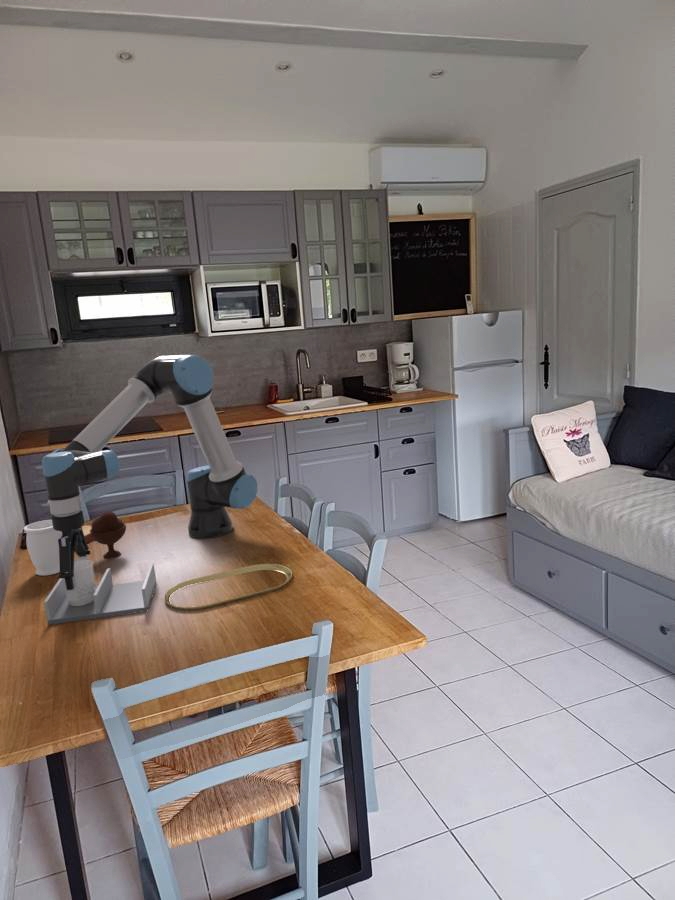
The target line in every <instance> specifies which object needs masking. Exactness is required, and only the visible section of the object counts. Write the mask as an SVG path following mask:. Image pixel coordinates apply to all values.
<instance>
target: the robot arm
mask: <svg viewBox="0 0 675 900" xmlns="http://www.w3.org/2000/svg"><path fill="white" fill-rule="evenodd" d="M214 377H215V376H214V371H213V368H212V366H211V365H210V364H209V362H208V361H207V360H206V359H205V358H204V357H202V356H199V355H195V354H194V355H193V354H189V353H188V354H187V353H185V354H179V355H178V354H175V355H160V356H158V357H155V358H153V359H152V360H150V361H149V362H147V363H146V364H144V365H143V366H141V368H140V369H139V370H138V371H136V372H135V373H134V374H133V375H132V376H131V377H130V378H129V379H128V381H127V386H126V387H125V388H124V389H123V390H121V392H120V393H118V395H117V396H116V397H115V398H114V399H113V400H112V401H111V402H109V404H108V405H107V406H105V408H104V409H103V410H102V411H101V412H100V413H99V414H98V415H97V416H95V418H94V419H92V421H90V423H88V425H86V427H85V428H84V429H82V431H81V432H80V433H79V434H77V436H76V437H75V438H73V439H72V440H71V442H69V443H68V444H67V445H66V446H65V447H64V448H63V447H62V448H58V449H55V450H53V451H52V452H51V453H48V454H47V455H45V456H43V458H42V460H41V461H42V465H41V466H42V475H43V478H44V484H45V487H46V494H47V498H48V499H47V500H48V501H47V502H46V505H47V506H49V510H50V511H49V512H50V514H51V517H50V518H51V520H52V524H53V529H54V530H56V531H61V532H62V536H61V538H60V539H58V543H59V562H60V572H59V575H58V578H59V579H61V578H63V579H64V584H65V590H66V596H67V601H75V600H79V594H78V588H77V582H76V576H75V575H74V561H75V554H76V555H77V556H76V561H80V560H89V557H88V556H89V555H91V550H89V546H88V543H87V542H86V539H85V536H84V533H83V530H82V526H85V525H84V524H85V517H84V513H83V510H82V509H83V504H82V500H81V493H80V487H81V486H85V485H88V484H92V483H96V482H99V481H102V480H103V481H104V480H108V479H110V478H112V477H116V476H117V475H118V473H120V472H119V471H120V468H121V466H120V465H121V464H120V459H119V457H118V455H117V453H116V452H115V451H113V450H111V449H104V448H105V446H107V445H108V444H109V443H110V442H111V441H112V440H113V439H114V438H115V437H116V436H117V435H118V433H120V431H122V429H123V428H124V427H125V426H126V425H127V424H128V423H129V422H130V421H131V420H132V419H133V418H134V417H135V416H136V415H137V414H138V413H139V412H140V411H141V410H142V409H143V408H144V407H145V406H146V404H152V403H153V402H154V401H155V400H156V399H158V398H159V397H162V395H163V396H164V395H166V394H168V395H169V394H170V395H172V399H173V401H174V402H175V405H177V407H180V408H182V409H184V412H185V415H186V417H187V419H188V422H189V424H190V426H191V428H192V430H193V433H194V435H195V438H196V440H197V442H198V444H199V448H200V449H201V452H202V453H203V456H204V458H205V460H206V463H207V465H203V466H198V467H195V468H192V469H190V470H189V471H187V474H186V483H187V491H188V497H189V505H190V517H189V522H188V526H187V529H188V530H187V531H188V536H190V537H192V538H195V539H211V538H217V537H221V536H223V535H226V534H229V533H230V532H232V530H233V521H232V519H231V517H230V515H229V513H228V511H227V508H231V509H235V510H237V509H240V510H243V509H247V508H248V507H250V506H251V505H252V503H253V502H254V501H255V499H256V496H257V493H258V490H259V489H258V486H259V485H258V481H257V478H256V477H255V476H254V475H252V474H250V473H246V470H245V467H244V464H243V463H242V462H240V461H239V460H236V458H235V456H234V452H233V450H232V448H231V445H230V443H229V440H228V439H227V436H226V434H225V431H224V429H223V426H222V424H221V421H220V419H219V417H218V414H217V412H216V410H215V407H214V405H213V402H212V400H211V395H212V393H213V389H212V388H213V385H214V381H213V380H214ZM103 449H104V450H103ZM66 572H68V573H66Z"/></svg>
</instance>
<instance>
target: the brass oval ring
mask: <svg viewBox="0 0 675 900" xmlns="http://www.w3.org/2000/svg"><path fill="white" fill-rule="evenodd" d="M255 571H275V572H280V573H282V574H284V575H285V576H286V580H285V582H283V583H281V584H279V585H277V586H274V587H271V588H268V589H264V590H260V591H256V592H252V593H248V594H244V595H239V596H236V597H232V598H229V599H228V598H227V599H224V600H219V601H216V602H213V603H208V604H204V605H200V606H199V605H198V606H178V605H174V604H173V603H172V604H173V605H172V604H170V602H169V597H170V595H171V594H172V593H173V592H175V591H176V590H178V589H179V588H182V587H184V586H187V585H190V584H195V583H199V582H205V581H209V582H211V581H210V580H214V581H216V580H215V579H218V580H222V579H226V578H230V577H234V576H238V574H239V575H242V573H243V574H247V573H251V572H255ZM292 577H293V572H292V570H291V569H290V568H289V567H287V566H285V565H282V564H276V563H259V564H253V565H248V566H244V567H239V568H234V569H230V570H227V571H222V572H218V573H217V572H216V573H214V574H209V575H204V576H201V577H197V578H196V577H195V578H192V579H188V580H185V581H182V582H180V583H178V584H176V585H173V586H172V587H171V588H169V589H168V590H167V591H166V593H165V595H164V601H165V603H166V604H167V605H168V606H170V607H172V608H174V609H177V610H182V609H185V610H184V611H189V610H188V609H197V610H202V609H201V608H204V609H207V608H206V607H208V608H211V606H212V607H216V606H219V604H220V605H223V603H224V604H227V602H228V603H232V602H235V601H239V599H240V600H243V598H244V599H247V597H248V598H251V596H252V597H256V596H259V595H264V594H267V593H270V592H273V591H276V590H279V589H281V588H283V587H284V586H286V585H287V584H288V583H289V582H290V581H291V579H292ZM221 578H222V579H221ZM205 583H206V582H205ZM215 605H216V606H215ZM186 609H187V610H186Z"/></svg>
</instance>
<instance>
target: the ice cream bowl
mask: <svg viewBox="0 0 675 900" xmlns="http://www.w3.org/2000/svg"><path fill="white" fill-rule="evenodd" d="M126 530H127V525H126V524H125V522H123V520H122V519H120V518H118V516H117V514H116V513H115V512H113V511H104V512H102V514H100V515H99V516H97V517H96V518H95V519H94V520H93V521H92V522H91V530H90V533H91V535H92V537H93V538H94V540H95V541H96V542H97V543H99V544H101V545H106V546H107V549H108V551H107V552H105V553H104V554H103V556H102V557H103V559H106V560H111V559H115V558H118V557H120V556H121V555H122V553H121V552H120V551H119V550H115V547H114V546H115V543H117V542H118V541H120V540H121V539H122V537H124V535H125V534H126Z"/></svg>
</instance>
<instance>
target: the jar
mask: <svg viewBox="0 0 675 900" xmlns="http://www.w3.org/2000/svg"><path fill="white" fill-rule="evenodd" d="M23 531H24V533H25V534H26V539H25V541H26V548H27V552H28V554H29V557H30V560H31V562H32V564H33V566H34V567H35V575H38V576H44V577H45V576H51V575H55V574H58V573H60V562H59V543H58V539H60V538H61V536H62V532H61V531H56V530H54V529H53V524H52V519H44V520H41V521H40V520H38V521H35V522H31V523H29V524H27V525H25V526H24V527H23Z"/></svg>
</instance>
